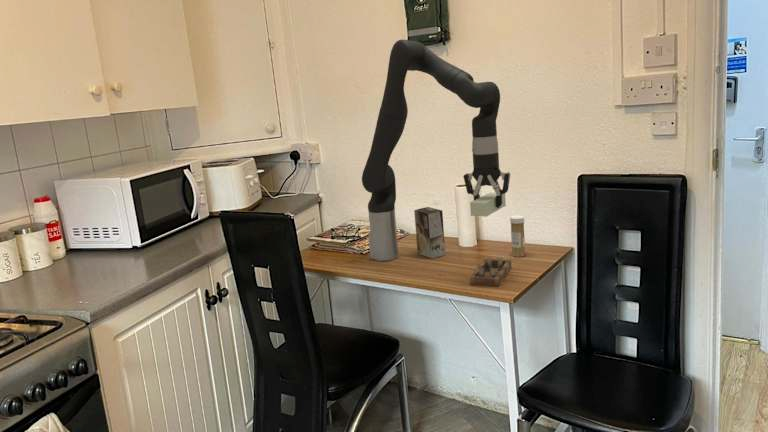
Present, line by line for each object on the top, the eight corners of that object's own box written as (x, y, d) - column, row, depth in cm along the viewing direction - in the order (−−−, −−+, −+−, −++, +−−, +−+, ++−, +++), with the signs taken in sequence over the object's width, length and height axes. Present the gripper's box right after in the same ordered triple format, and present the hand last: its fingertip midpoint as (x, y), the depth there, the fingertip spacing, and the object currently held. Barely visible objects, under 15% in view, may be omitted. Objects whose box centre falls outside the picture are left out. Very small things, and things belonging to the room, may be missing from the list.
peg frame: (498, 286, 181) (498, 273, 180) (470, 284, 185) (469, 272, 184) (511, 267, 197) (510, 255, 196) (484, 266, 201) (484, 254, 200)
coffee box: (446, 255, 216) (443, 210, 212) (431, 259, 213) (428, 213, 209) (431, 249, 224) (428, 206, 220) (416, 253, 221) (413, 209, 217)
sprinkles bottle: (528, 255, 208) (527, 216, 205) (518, 258, 206) (517, 218, 203) (518, 252, 212) (517, 214, 209) (508, 255, 210) (507, 216, 207)
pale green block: (490, 205, 193) (490, 192, 192) (505, 205, 190) (505, 193, 190) (470, 215, 182) (470, 202, 181) (486, 216, 179) (485, 203, 178)
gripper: (512, 148, 183) (514, 204, 187) (465, 150, 188) (468, 204, 192) (507, 152, 176) (509, 210, 180) (458, 154, 182) (461, 210, 186)
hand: (488, 207), depth 186 cm, fingers closed on pale green block, 5 cm apart
